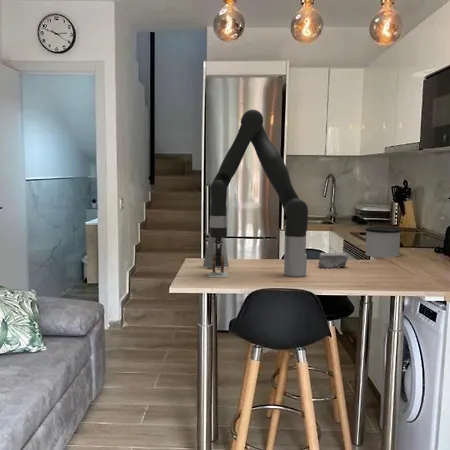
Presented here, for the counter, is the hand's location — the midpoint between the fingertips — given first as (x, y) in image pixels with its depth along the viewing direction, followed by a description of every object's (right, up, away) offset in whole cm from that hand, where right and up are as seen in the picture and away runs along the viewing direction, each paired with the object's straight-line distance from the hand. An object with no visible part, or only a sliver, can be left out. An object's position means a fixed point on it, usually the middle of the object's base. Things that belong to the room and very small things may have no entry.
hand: (218, 264), depth 206 cm
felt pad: (0, -4, 0) cm, 4 cm away
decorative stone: (+54, -3, +22) cm, 58 cm away
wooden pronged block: (0, -3, 0) cm, 3 cm away
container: (+92, 0, +63) cm, 112 cm away
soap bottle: (-1, -3, +20) cm, 21 cm away
